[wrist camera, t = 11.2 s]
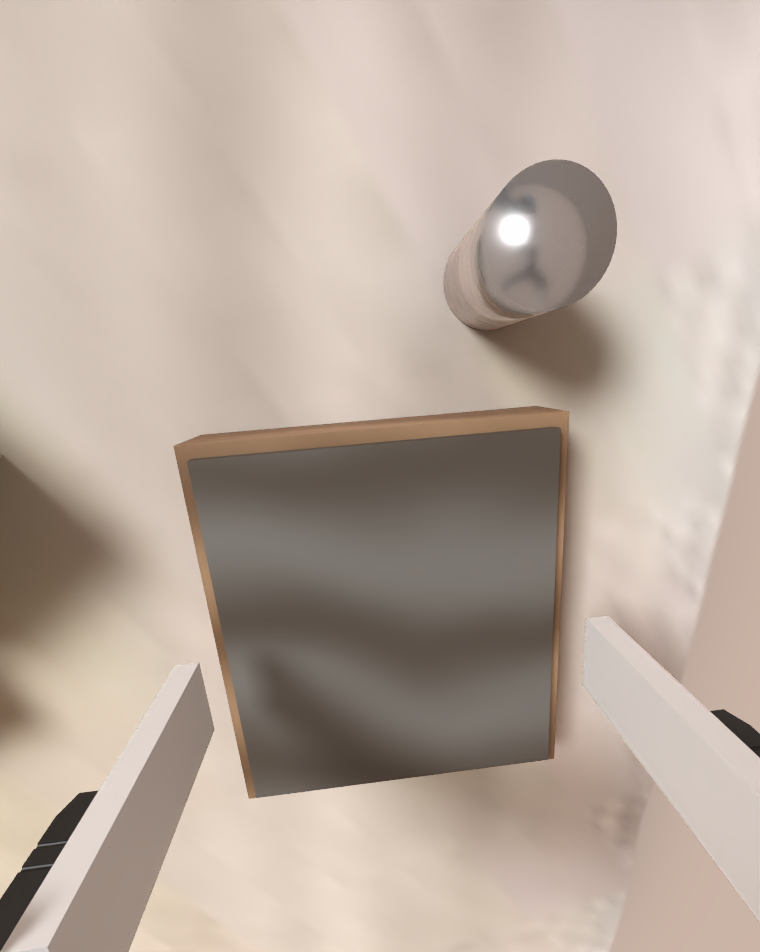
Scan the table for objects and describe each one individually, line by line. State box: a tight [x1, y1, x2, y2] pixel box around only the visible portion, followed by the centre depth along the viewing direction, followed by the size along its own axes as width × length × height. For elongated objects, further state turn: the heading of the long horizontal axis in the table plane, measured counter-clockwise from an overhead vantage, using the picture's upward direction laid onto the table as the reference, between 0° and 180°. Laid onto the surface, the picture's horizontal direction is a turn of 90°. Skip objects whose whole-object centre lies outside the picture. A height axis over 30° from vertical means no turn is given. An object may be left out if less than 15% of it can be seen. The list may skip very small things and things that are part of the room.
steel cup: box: [444, 160, 617, 330], centre depth 13 cm, size 4×4×5 cm
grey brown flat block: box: [174, 406, 569, 798], centre depth 17 cm, size 16×14×3 cm
